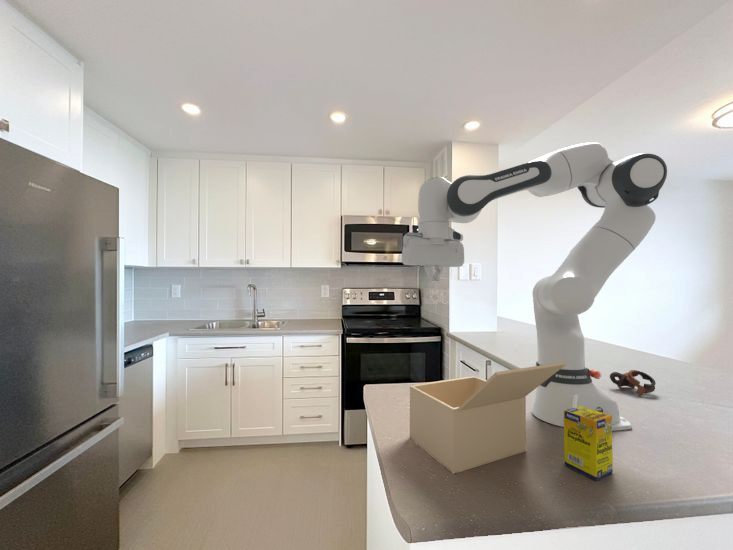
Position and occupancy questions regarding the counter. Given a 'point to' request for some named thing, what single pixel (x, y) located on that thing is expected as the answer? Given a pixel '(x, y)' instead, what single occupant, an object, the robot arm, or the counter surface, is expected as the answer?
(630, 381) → the brown black double loop
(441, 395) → the carton
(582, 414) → the supplement box
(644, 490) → the counter surface
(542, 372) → the carton flap
